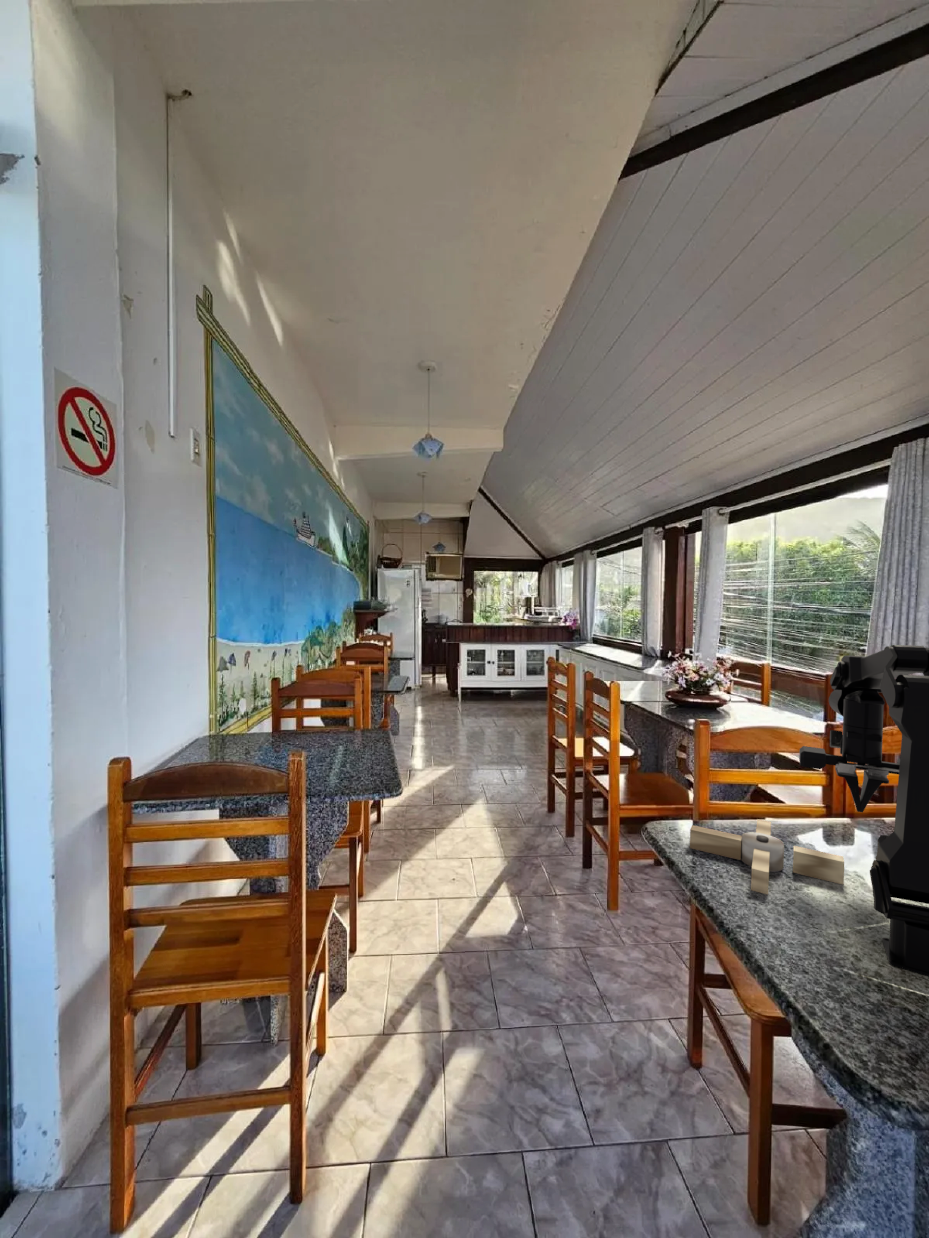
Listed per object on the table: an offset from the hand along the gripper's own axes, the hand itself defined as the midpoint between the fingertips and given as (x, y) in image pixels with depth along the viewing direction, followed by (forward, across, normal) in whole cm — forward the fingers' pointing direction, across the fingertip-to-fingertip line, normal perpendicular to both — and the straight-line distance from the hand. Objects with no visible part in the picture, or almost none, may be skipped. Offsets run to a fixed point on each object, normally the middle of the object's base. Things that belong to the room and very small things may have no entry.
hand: (859, 811), depth 94 cm
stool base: (+12, +20, +4) cm, 23 cm away
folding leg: (+12, +6, +4) cm, 14 cm away
